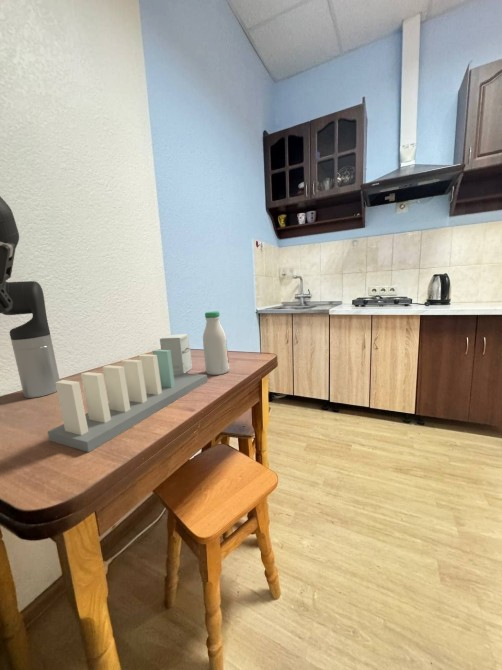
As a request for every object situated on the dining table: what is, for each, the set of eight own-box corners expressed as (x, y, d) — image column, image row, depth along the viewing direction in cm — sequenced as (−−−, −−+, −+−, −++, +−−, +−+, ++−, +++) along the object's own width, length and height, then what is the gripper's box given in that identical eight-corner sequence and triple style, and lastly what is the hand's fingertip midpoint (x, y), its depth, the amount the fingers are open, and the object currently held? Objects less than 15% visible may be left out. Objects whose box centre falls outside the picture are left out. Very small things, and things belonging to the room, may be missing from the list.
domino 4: (142, 402, 65) (136, 362, 64) (127, 400, 68) (121, 360, 66) (147, 400, 67) (141, 360, 65) (132, 398, 69) (126, 359, 67)
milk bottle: (228, 374, 88) (222, 312, 85) (204, 376, 89) (197, 314, 85) (230, 367, 96) (225, 310, 93) (208, 369, 96) (202, 311, 93)
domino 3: (125, 412, 61) (118, 368, 59) (109, 409, 63) (102, 367, 61) (130, 409, 62) (123, 366, 61) (115, 406, 64) (108, 365, 63)
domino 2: (105, 422, 57) (96, 375, 55) (89, 419, 59) (80, 374, 57) (111, 419, 58) (103, 373, 56) (95, 416, 60) (87, 372, 58)
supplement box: (184, 375, 91) (179, 337, 89) (163, 375, 93) (158, 338, 91) (193, 368, 99) (189, 333, 96) (173, 368, 100) (169, 334, 98)
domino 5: (158, 394, 70) (152, 356, 68) (143, 392, 72) (137, 355, 70) (162, 392, 71) (156, 354, 69) (147, 390, 73) (142, 354, 72)
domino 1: (81, 435, 52) (71, 384, 50) (65, 431, 54) (55, 382, 53) (88, 431, 53) (79, 382, 52) (72, 427, 56) (62, 379, 54)
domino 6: (171, 387, 74) (166, 351, 73) (157, 386, 76) (152, 350, 75) (175, 385, 76) (170, 350, 74) (161, 384, 78) (156, 349, 76)
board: (49, 440, 55) (47, 431, 55) (176, 378, 89) (175, 372, 88) (88, 452, 50) (87, 442, 50) (207, 381, 84) (207, 374, 83)
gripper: (-11, 181, 40) (55, 291, 49) (-114, 202, 38) (-25, 312, 47) (-45, 181, 33) (39, 308, 42) (-170, 206, 32) (-55, 333, 41)
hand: (5, 310), depth 45 cm, fingers closed
